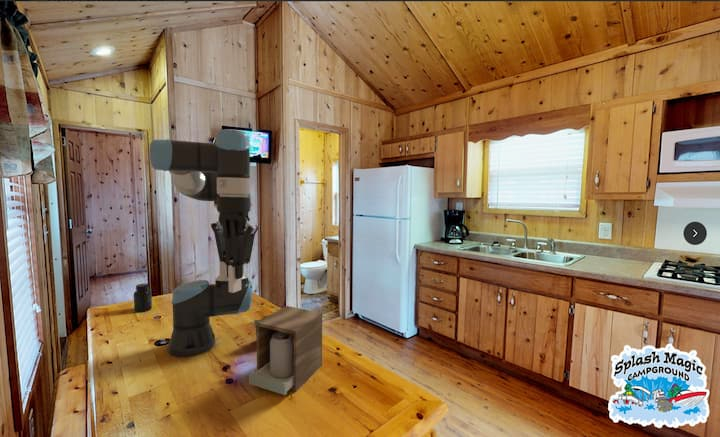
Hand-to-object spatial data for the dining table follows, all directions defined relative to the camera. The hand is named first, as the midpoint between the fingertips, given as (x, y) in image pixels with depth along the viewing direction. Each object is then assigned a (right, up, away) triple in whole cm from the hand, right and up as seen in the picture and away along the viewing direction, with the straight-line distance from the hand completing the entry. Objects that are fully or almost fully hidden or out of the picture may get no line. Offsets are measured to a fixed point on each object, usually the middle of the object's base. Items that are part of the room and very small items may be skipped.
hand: (235, 290), depth 78 cm
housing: (+9, -31, +22) cm, 39 cm away
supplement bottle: (-70, -25, +69) cm, 102 cm away
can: (+8, -29, +17) cm, 35 cm away
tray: (+8, -30, +19) cm, 36 cm away
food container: (-2, -29, +41) cm, 50 cm away
